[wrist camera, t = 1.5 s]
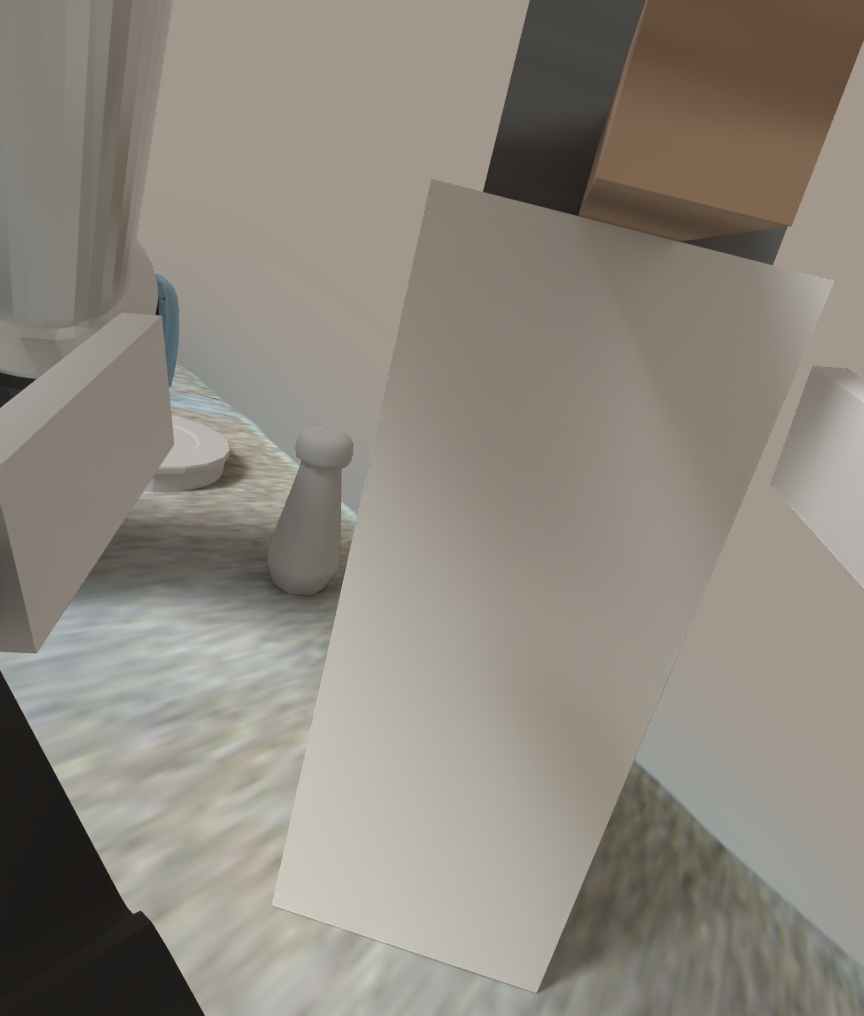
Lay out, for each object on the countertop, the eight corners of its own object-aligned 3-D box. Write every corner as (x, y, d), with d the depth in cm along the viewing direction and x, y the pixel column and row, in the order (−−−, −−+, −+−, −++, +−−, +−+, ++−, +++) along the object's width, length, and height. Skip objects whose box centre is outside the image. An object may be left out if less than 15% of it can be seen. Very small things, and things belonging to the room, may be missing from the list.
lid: (-12, 436, 72) (-11, 407, 71) (178, 431, 87) (180, 407, 86) (57, 508, 62) (59, 475, 61) (258, 488, 77) (263, 461, 76)
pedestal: (536, 993, 31) (834, 280, 21) (271, 905, 32) (431, 179, 22) (542, 777, 45) (728, 272, 34) (354, 718, 45) (478, 208, 35)
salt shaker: (323, 566, 63) (353, 423, 59) (343, 601, 58) (377, 448, 54) (255, 565, 60) (281, 415, 56) (270, 601, 56) (300, 440, 51)
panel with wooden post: (993, 276, 11) (1246, -238, 9) (409, 131, 11) (513, -380, 9) (728, 265, 28) (792, 88, 26) (497, 206, 28) (541, 29, 26)
